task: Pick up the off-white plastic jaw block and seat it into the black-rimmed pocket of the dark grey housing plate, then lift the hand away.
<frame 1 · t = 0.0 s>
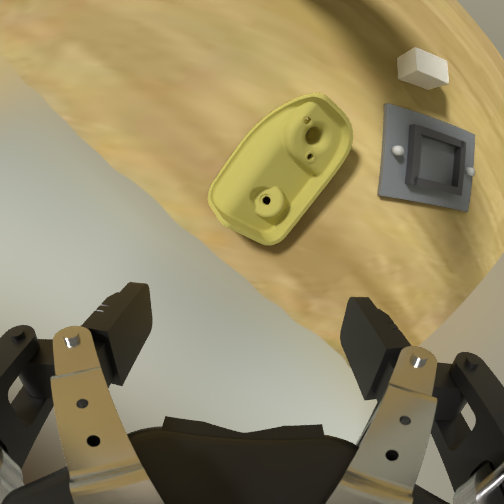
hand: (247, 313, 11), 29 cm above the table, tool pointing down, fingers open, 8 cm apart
plastic component: (281, 168, 37), on the table
jaw block: (413, 73, 32), on the table
housing plate: (431, 160, 36), on the table
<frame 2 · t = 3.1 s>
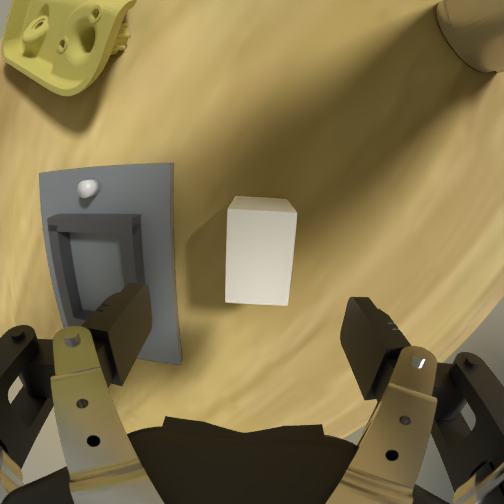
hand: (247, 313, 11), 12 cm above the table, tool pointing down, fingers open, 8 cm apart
plastic component: (78, 35, 17), on the table
jaw block: (258, 234, 23), on the table
housing plate: (106, 269, 24), on the table
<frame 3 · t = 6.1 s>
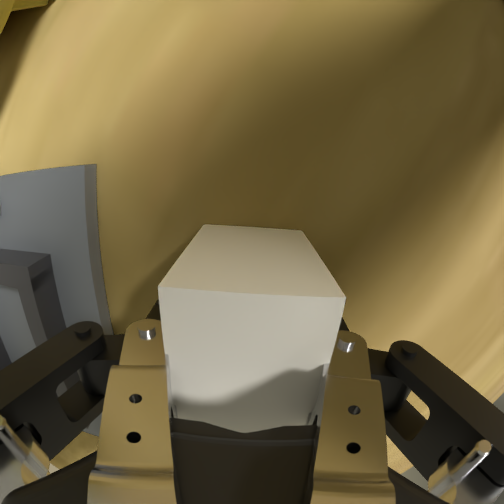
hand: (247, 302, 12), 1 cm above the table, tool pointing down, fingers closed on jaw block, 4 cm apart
jaw block: (248, 293, 12), on the table, touching gripper
housing plate: (30, 324, 13), on the table
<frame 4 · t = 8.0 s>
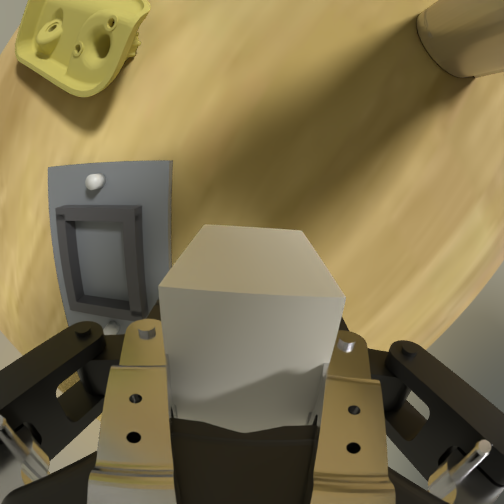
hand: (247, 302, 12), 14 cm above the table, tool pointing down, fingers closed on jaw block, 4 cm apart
plastic component: (90, 40, 19), on the table
jaw block: (248, 293, 12), point 13 cm above the table, touching gripper
housing plate: (108, 256, 26), on the table
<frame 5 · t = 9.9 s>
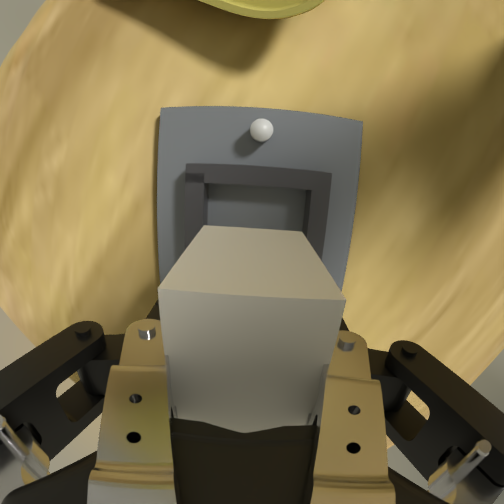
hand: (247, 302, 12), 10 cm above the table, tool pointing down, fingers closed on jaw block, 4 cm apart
jaw block: (248, 294, 12), point 9 cm above the table, touching gripper
housing plate: (253, 240, 21), on the table
when the fingers open (3 cm above the table, at t = 11.3 s): jaw block drops 1 cm, resting on housing plate.
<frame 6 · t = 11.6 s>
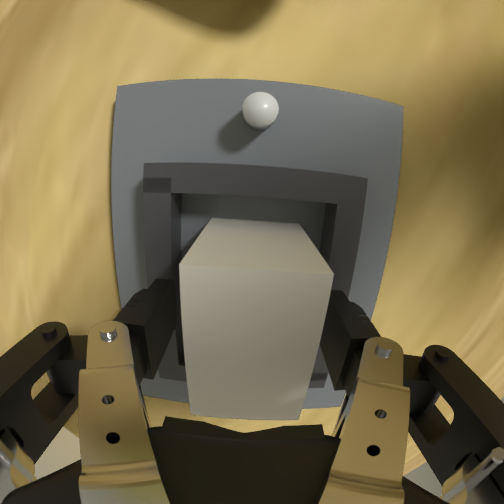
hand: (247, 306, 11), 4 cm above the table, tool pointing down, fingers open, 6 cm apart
jaw block: (251, 280, 14), point 1 cm above the table, touching housing plate
housing plate: (248, 272, 15), on the table
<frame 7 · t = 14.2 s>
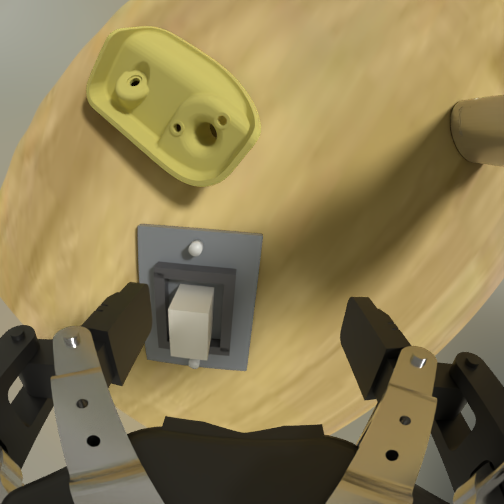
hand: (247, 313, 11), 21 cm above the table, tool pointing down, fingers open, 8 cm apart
plastic component: (175, 105, 27), on the table
jaw block: (196, 307, 33), point 1 cm above the table, touching housing plate
housing plate: (196, 303, 34), on the table
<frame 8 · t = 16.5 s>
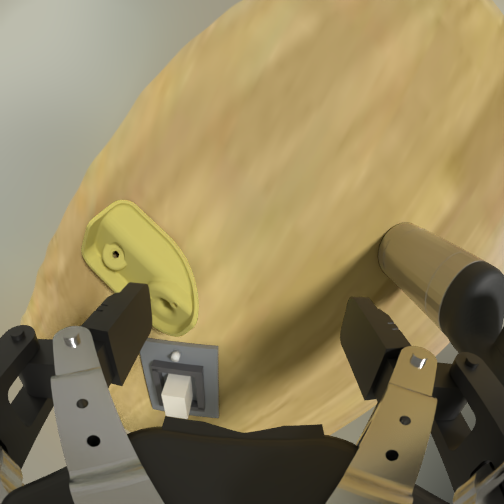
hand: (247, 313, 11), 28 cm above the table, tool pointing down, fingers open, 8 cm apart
plastic component: (147, 266, 41), on the table
jaw block: (181, 384, 47), point 1 cm above the table, touching housing plate
housing plate: (181, 380, 48), on the table
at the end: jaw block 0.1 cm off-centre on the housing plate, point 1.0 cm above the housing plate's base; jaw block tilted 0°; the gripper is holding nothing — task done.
